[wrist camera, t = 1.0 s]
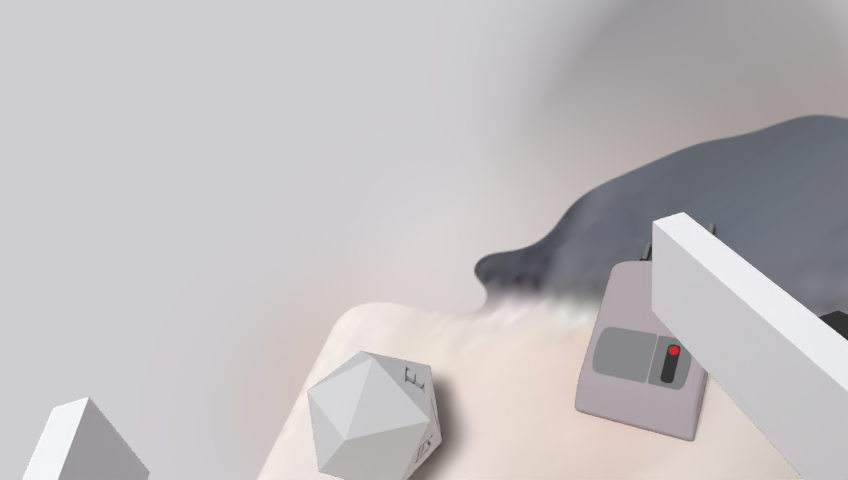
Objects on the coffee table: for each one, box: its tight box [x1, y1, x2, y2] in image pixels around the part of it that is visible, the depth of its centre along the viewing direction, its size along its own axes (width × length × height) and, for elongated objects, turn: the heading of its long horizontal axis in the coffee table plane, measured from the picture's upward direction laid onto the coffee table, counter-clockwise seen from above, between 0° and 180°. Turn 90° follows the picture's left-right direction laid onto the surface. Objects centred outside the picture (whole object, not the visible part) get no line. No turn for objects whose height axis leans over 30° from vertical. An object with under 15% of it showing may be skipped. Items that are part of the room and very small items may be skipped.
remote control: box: [575, 223, 715, 441], centre depth 34 cm, size 7×16×3 cm, turn 153°
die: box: [307, 351, 442, 480], centre depth 37 cm, size 8×9×10 cm
